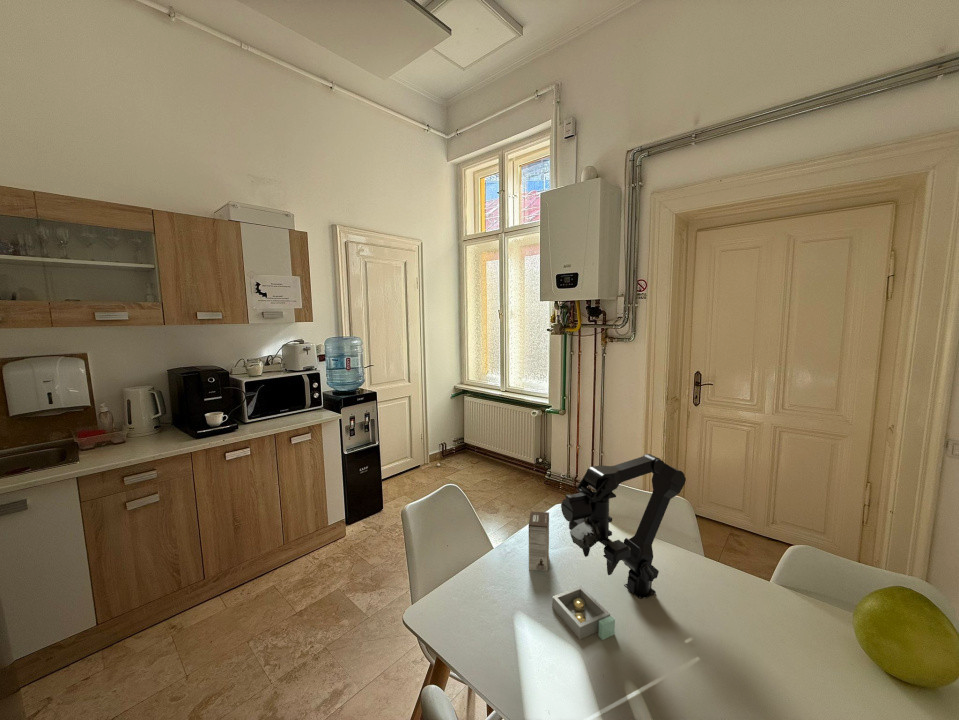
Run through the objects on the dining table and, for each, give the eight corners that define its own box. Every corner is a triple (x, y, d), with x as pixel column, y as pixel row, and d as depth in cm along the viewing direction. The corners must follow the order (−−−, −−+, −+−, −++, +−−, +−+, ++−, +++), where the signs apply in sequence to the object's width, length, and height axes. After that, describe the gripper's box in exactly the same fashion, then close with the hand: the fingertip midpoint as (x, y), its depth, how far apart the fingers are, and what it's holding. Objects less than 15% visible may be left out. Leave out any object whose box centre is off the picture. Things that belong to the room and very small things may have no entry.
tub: (580, 598, 115) (580, 585, 114) (610, 627, 104) (610, 614, 103) (552, 609, 111) (552, 596, 110) (579, 641, 100) (580, 627, 99)
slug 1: (579, 603, 112) (579, 596, 112) (586, 610, 109) (586, 603, 109) (571, 606, 111) (571, 600, 110) (578, 613, 108) (578, 607, 108)
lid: (616, 628, 104) (617, 609, 104) (653, 664, 94) (654, 644, 93) (587, 641, 100) (587, 622, 100) (622, 681, 89) (622, 660, 89)
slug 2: (580, 618, 107) (580, 611, 106) (587, 626, 104) (588, 619, 104) (571, 621, 105) (571, 615, 105) (578, 629, 103) (578, 623, 102)
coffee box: (530, 553, 136) (530, 510, 134) (549, 556, 135) (549, 511, 133) (528, 571, 127) (528, 524, 125) (548, 573, 126) (548, 526, 124)
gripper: (554, 505, 114) (554, 555, 116) (600, 538, 97) (599, 595, 99) (584, 496, 119) (583, 544, 121) (632, 526, 102) (631, 581, 104)
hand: (597, 565), depth 111 cm, fingers open, 9 cm apart
